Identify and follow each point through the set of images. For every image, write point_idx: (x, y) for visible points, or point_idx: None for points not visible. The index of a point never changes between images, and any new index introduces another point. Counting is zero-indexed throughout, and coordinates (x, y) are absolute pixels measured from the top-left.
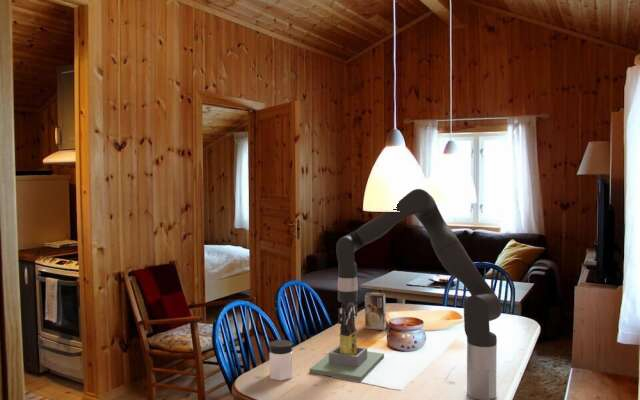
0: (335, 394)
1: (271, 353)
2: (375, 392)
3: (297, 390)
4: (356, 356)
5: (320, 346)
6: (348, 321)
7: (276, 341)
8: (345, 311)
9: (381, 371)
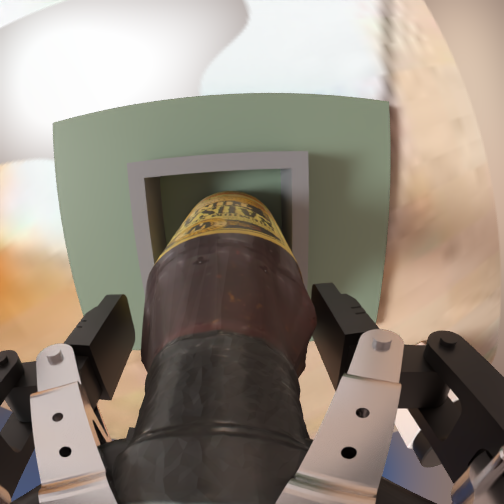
0: (487, 163)
1: None
2: (434, 41)
3: (484, 278)
4: (302, 160)
5: None
6: (290, 364)
7: (438, 460)
8: (422, 501)
9: (234, 53)
